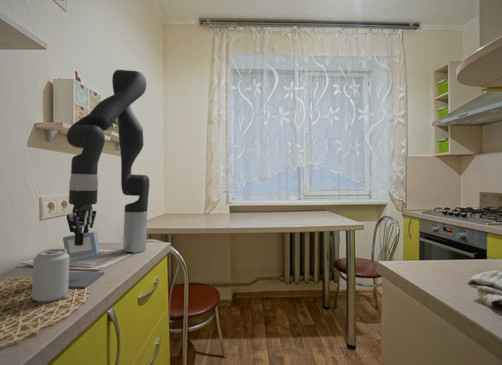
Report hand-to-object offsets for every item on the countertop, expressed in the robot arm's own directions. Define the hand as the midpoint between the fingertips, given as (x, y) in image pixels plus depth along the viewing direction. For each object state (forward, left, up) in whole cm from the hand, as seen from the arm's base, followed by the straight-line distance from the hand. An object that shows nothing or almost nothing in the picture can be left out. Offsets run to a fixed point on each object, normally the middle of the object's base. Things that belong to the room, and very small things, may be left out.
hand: (81, 244), depth 83 cm
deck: (0, +1, -3) cm, 3 cm away
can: (+15, 0, -11) cm, 18 cm away
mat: (+3, -1, -10) cm, 11 cm away
